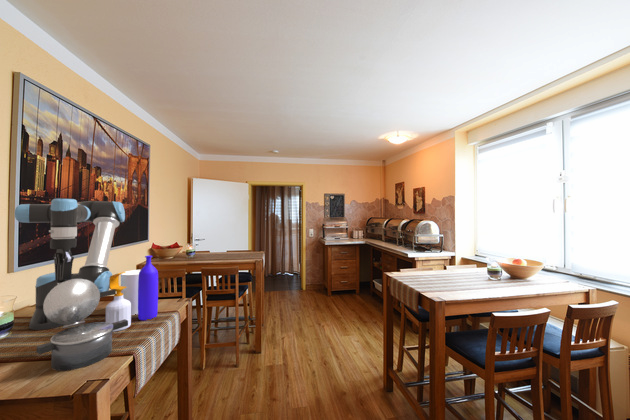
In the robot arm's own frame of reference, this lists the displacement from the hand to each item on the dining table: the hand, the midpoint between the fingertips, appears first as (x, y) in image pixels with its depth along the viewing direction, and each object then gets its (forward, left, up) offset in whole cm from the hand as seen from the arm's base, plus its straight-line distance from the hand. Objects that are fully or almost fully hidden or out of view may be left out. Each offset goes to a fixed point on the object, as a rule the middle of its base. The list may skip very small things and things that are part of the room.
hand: (62, 298), depth 103 cm
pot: (+20, +1, -18) cm, 26 cm away
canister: (-13, +33, -18) cm, 40 cm away
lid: (+11, +3, 0) cm, 11 cm away
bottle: (+2, +31, -18) cm, 36 cm away
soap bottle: (+3, +18, -18) cm, 25 cm away
